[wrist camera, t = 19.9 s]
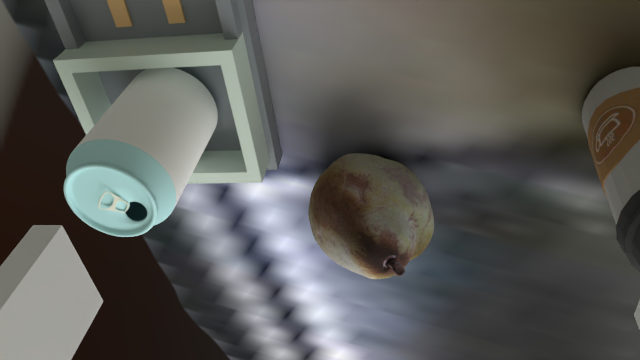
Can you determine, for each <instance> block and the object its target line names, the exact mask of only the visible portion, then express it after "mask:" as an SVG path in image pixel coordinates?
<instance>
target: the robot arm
mask: <svg viewBox="0 0 640 360" xmlns="http://www.w3.org/2000/svg"><path fill="white" fill-rule="evenodd" d="M102 303H103V300H102V298H101V296H100V294H99V293H98V291H97V289H96V287H95V285H94V283H93V282H92V280H91V278H90V276H89V274H88V272H87V270H86V269H85V267H84V265H83V263H82V261H81V260H80V258H79V256H78V254H77V253H76V250H75V248H74V247H73V245H72V243H71V241H70V239H69V237H68V236H67V234H66V232H65V230H64V228H63V227H62V225H33V226H32V227H31V229H30V230H29V231H28V232H27V234H26V235H25V236H24V238H23V239H22V240H21V241H20V243H19V244H18V245H17V246H16V248H15V249H14V250H13V251H12V253H11V254H10V255H9V256H8V258H7V259H6V260H5V262H4V263H3V264H2V265H1V267H0V360H71V359H72V357H73V355H74V353H75V352H76V350H77V348H78V346H79V344H80V343H81V341H82V339H83V337H84V335H85V334H86V331H87V330H88V328H89V326H90V324H91V323H92V321H93V319H94V317H95V315H96V314H97V312H98V310H99V308H100V306H101V305H102ZM634 317H635V319H636V322H637V324H638V327H639V329H640V300H639V303H638V306H637V308H636V311H635V314H634Z"/></svg>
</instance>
